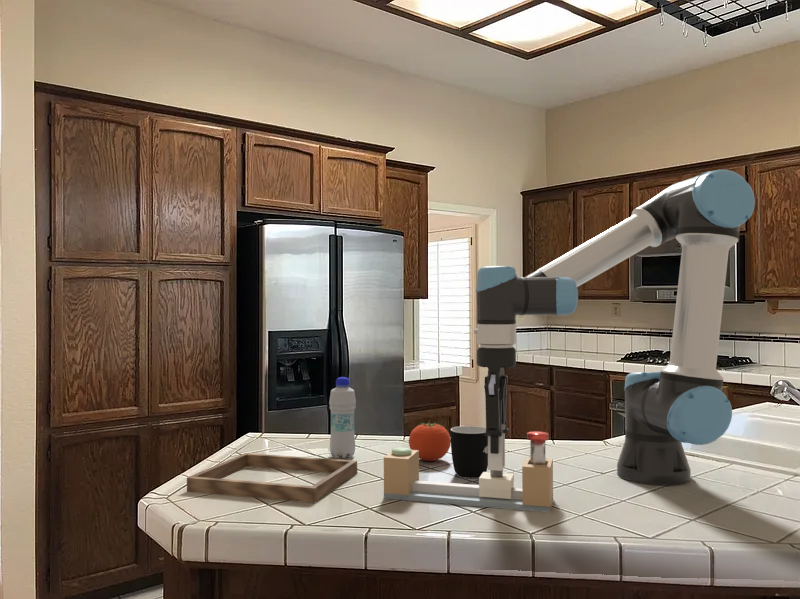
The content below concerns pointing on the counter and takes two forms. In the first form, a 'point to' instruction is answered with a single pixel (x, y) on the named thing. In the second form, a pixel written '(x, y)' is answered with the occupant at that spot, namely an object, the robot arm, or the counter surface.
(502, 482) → the carriage
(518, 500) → the rail
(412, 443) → the tomato
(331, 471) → the wooden frame
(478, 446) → the mug
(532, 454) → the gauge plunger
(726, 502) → the counter surface
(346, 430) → the bottle
